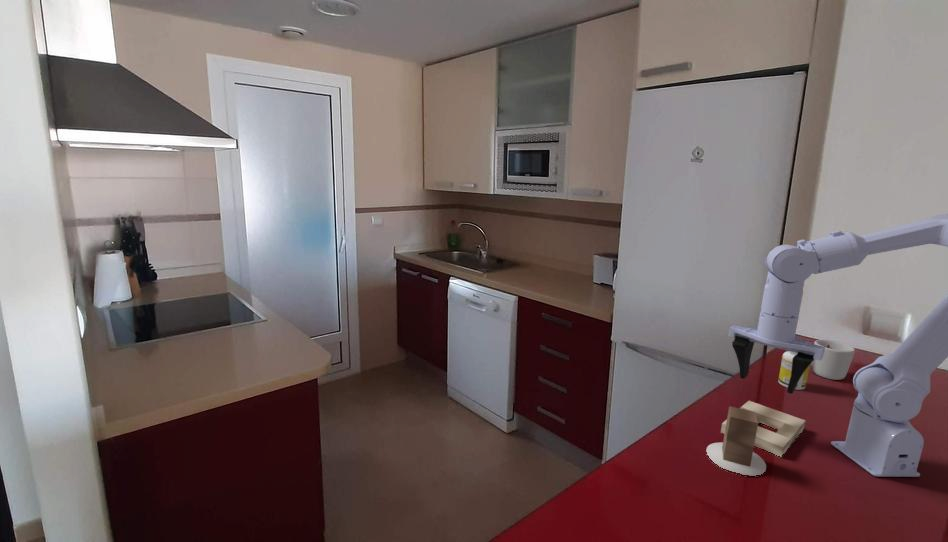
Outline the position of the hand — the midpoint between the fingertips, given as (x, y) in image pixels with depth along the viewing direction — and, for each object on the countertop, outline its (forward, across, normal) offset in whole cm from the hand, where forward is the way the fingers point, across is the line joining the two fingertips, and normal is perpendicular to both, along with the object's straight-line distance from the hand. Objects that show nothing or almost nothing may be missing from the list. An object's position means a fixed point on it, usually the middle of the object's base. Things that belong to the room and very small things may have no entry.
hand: (766, 384), depth 86 cm
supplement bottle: (+11, +2, -30) cm, 32 cm away
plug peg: (+10, 0, +12) cm, 15 cm away
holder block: (+10, 0, -2) cm, 11 cm away
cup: (+11, -2, -43) cm, 45 cm away
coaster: (+10, 0, +12) cm, 16 cm away
